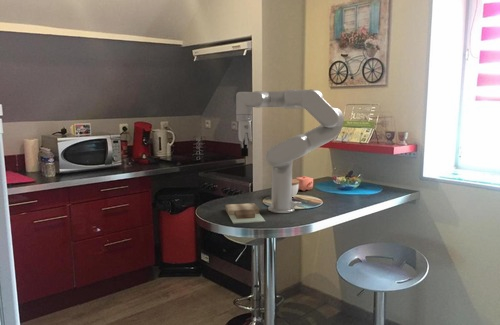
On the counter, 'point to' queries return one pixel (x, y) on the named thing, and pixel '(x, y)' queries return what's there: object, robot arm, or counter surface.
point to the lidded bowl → (295, 187)
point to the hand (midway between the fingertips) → (244, 156)
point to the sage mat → (247, 219)
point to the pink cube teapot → (305, 183)
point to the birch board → (241, 208)
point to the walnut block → (244, 214)
